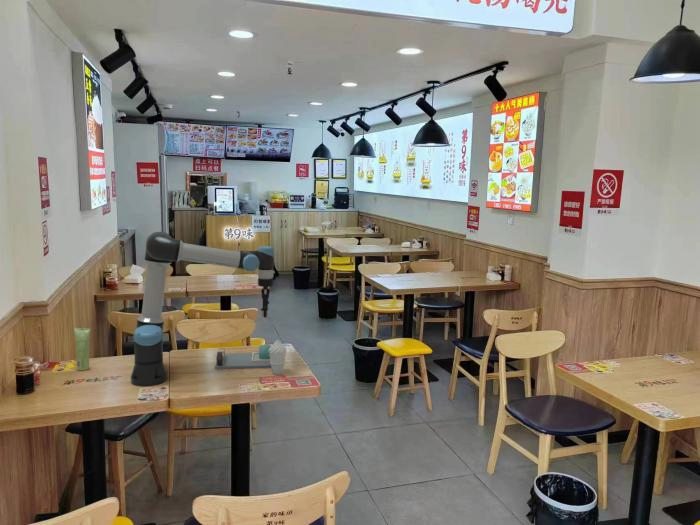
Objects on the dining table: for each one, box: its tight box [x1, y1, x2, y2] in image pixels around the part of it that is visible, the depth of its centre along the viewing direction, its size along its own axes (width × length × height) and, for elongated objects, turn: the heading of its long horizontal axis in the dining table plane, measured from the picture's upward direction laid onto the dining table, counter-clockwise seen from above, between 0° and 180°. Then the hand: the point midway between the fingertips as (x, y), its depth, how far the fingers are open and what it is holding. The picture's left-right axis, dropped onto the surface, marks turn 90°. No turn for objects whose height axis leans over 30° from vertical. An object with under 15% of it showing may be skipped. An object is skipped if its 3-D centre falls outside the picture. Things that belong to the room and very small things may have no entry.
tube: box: [73, 327, 91, 372], centre depth 239 cm, size 6×5×20 cm
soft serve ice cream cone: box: [268, 339, 287, 376], centre depth 240 cm, size 8×8×16 cm
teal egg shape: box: [258, 344, 272, 360], centre depth 259 cm, size 6×6×6 cm
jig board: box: [214, 351, 272, 370], centre depth 256 cm, size 30×20×2 cm, turn 99°
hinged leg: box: [216, 347, 226, 365], centre depth 252 cm, size 14×3×6 cm, turn 9°
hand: (265, 320), depth 257 cm, fingers open, 13 cm apart
